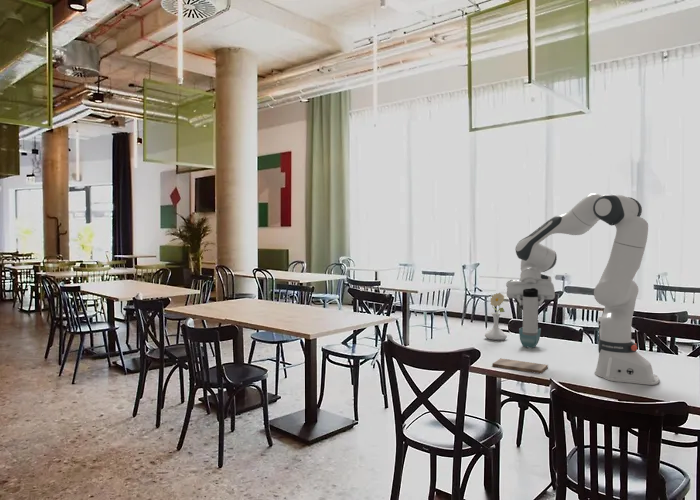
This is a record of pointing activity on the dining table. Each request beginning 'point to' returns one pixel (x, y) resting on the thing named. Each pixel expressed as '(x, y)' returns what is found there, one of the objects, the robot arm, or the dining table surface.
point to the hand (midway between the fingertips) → (530, 305)
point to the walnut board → (520, 365)
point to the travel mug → (530, 312)
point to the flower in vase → (496, 319)
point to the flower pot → (529, 338)
